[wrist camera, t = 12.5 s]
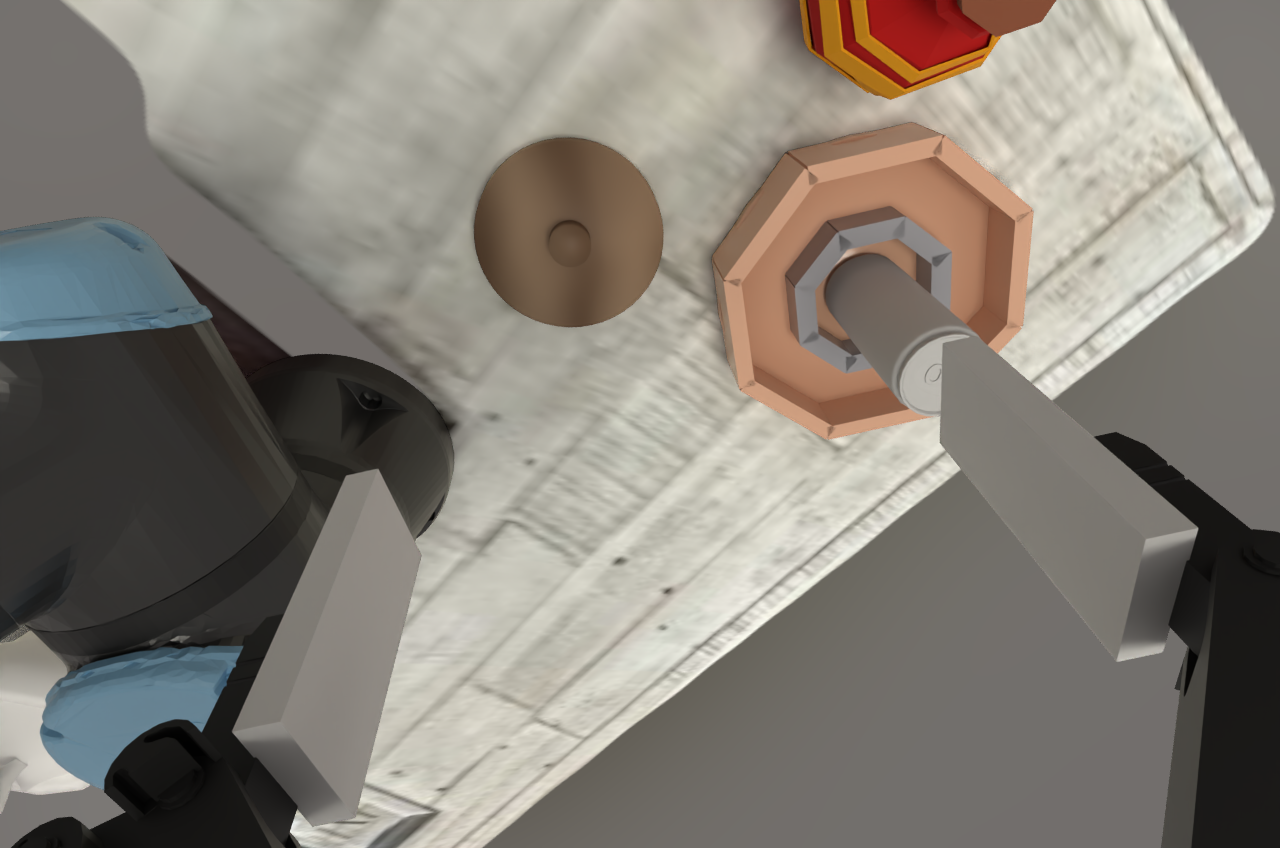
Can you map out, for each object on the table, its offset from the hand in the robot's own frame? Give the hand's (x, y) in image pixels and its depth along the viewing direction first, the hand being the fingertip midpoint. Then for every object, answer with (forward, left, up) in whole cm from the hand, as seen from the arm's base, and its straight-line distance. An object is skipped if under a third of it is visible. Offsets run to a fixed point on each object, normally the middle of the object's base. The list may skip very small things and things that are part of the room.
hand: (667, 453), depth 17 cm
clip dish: (+14, -10, -29) cm, 33 cm away
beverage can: (+14, -10, -28) cm, 33 cm away
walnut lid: (-3, -3, -29) cm, 29 cm away
